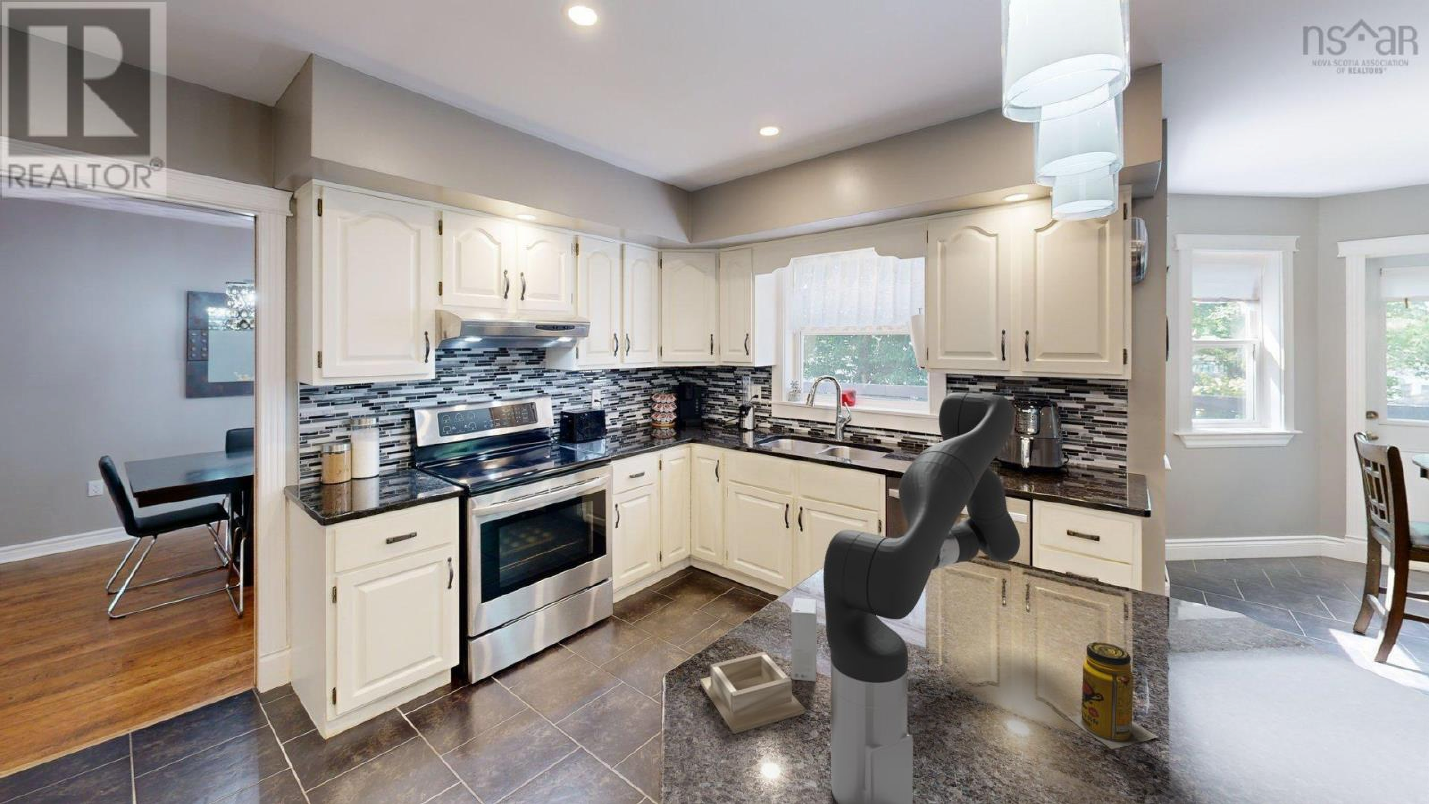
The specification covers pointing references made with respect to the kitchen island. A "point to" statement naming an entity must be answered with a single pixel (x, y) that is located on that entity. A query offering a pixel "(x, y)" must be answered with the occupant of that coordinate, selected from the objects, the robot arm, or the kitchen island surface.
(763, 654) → the block
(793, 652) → the skincare box
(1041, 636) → the kitchen island surface
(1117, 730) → the condiment
